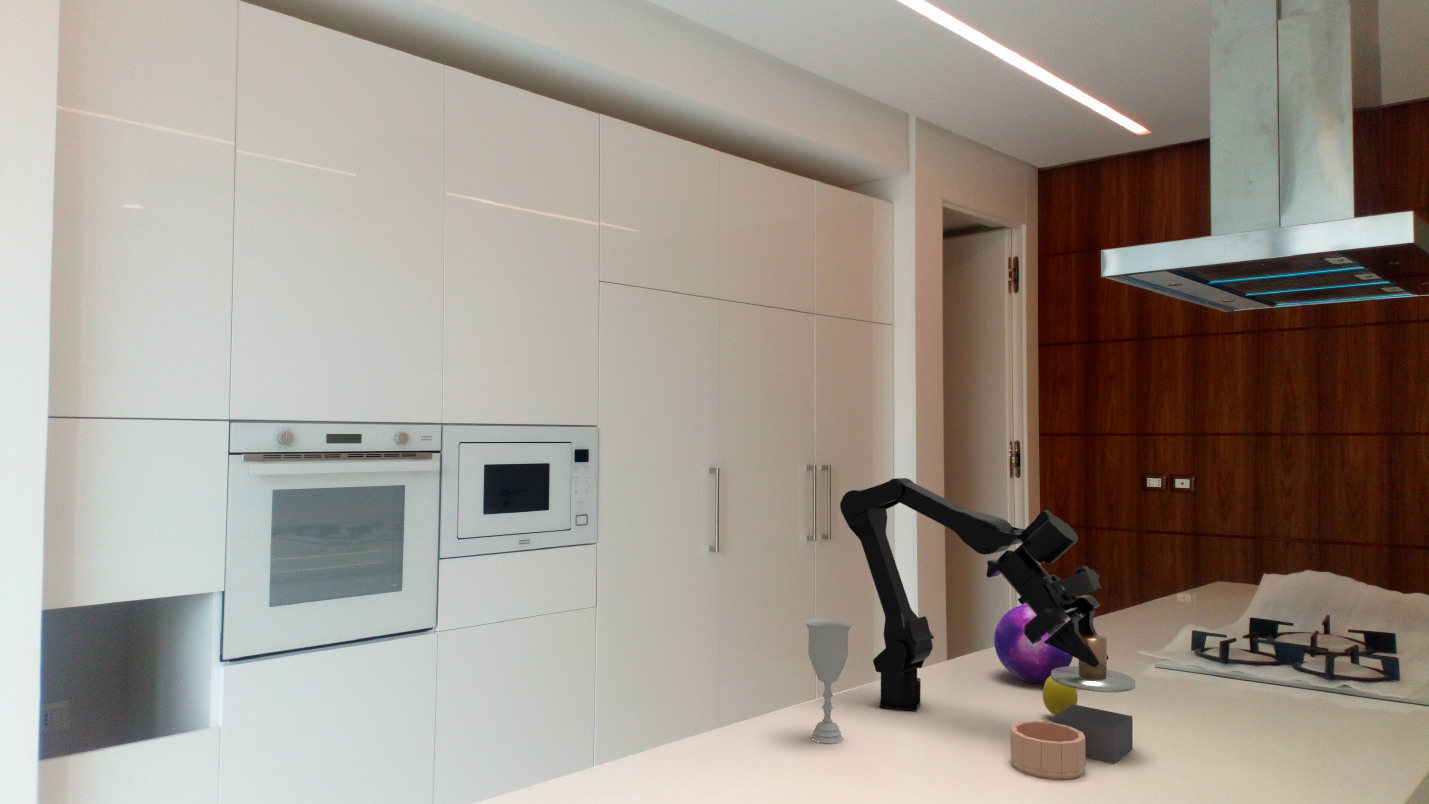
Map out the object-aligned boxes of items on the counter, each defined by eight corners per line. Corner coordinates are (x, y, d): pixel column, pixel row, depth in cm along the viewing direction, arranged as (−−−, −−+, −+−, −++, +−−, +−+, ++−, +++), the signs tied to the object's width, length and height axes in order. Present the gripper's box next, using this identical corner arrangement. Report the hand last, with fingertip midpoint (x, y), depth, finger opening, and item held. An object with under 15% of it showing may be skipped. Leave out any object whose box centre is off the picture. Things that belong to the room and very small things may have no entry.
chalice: (854, 734, 144) (855, 620, 145) (846, 748, 138) (847, 629, 139) (809, 729, 147) (810, 617, 148) (799, 742, 140) (800, 625, 141)
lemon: (1080, 725, 151) (1080, 677, 152) (1045, 722, 152) (1045, 674, 153) (1074, 715, 157) (1074, 668, 157) (1040, 713, 158) (1040, 666, 158)
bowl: (1013, 774, 128) (1013, 739, 128) (1008, 751, 138) (1009, 718, 138) (1089, 782, 126) (1089, 746, 126) (1079, 758, 135) (1079, 724, 135)
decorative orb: (979, 679, 180) (979, 603, 180) (1018, 667, 190) (1018, 595, 191) (1050, 696, 169) (1051, 615, 169) (1088, 682, 179) (1088, 606, 179)
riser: (1053, 749, 139) (1053, 716, 139) (1073, 735, 146) (1073, 704, 146) (1114, 763, 133) (1114, 729, 134) (1132, 748, 140) (1132, 715, 140)
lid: (1055, 687, 136) (1055, 642, 136) (1047, 668, 147) (1047, 626, 148) (1142, 695, 133) (1142, 648, 133) (1127, 674, 144) (1127, 631, 145)
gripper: (1045, 555, 136) (1122, 641, 129) (1087, 545, 150) (1158, 622, 143) (994, 600, 141) (1065, 686, 133) (1039, 587, 155) (1106, 663, 148)
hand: (1101, 662), depth 139 cm, fingers closed on lid, 4 cm apart
